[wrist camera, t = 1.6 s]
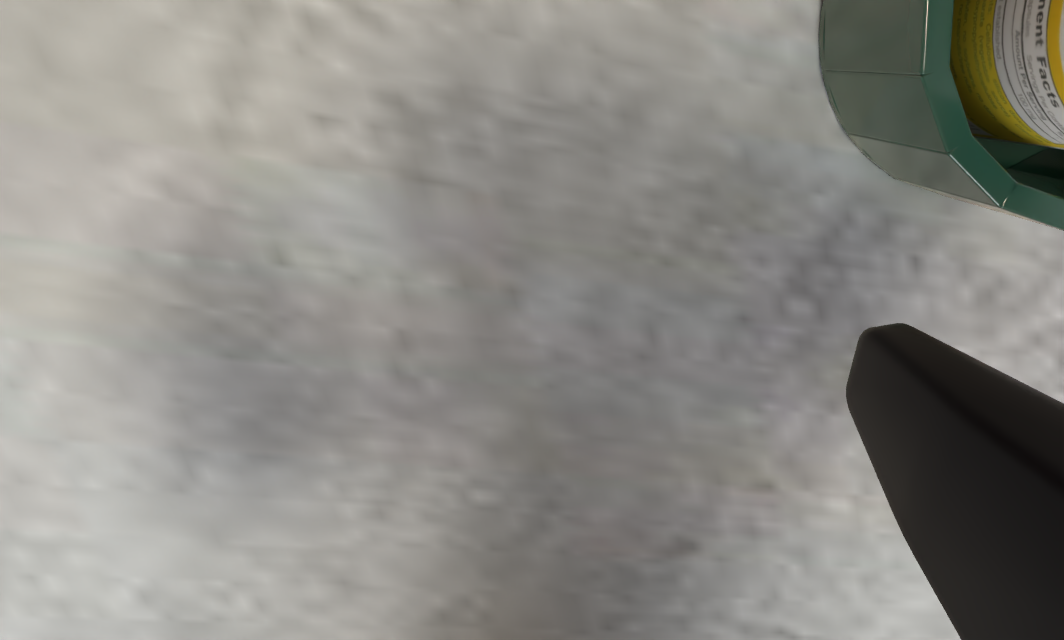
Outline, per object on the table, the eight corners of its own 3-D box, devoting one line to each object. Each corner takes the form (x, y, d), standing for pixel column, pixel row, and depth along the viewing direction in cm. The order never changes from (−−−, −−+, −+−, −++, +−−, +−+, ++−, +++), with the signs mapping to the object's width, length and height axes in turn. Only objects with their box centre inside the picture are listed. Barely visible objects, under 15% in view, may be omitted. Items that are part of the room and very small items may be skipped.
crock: (1181, 99, 23) (1374, 112, 18) (884, 248, 23) (997, 298, 19) (1098, -236, 20) (1295, -324, 16) (767, -63, 21) (862, -96, 16)
